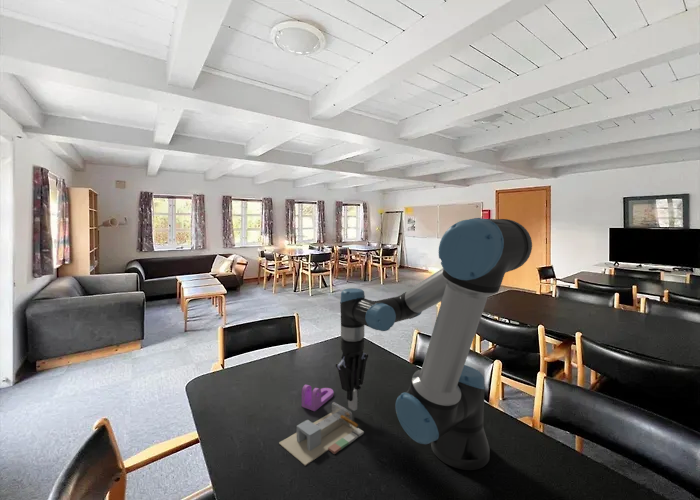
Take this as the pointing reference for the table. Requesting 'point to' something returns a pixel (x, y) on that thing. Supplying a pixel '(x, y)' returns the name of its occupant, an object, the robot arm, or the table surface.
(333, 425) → the grey sliding clamp
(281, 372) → the table surface
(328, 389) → the bracket
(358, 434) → the beige mechanism board
